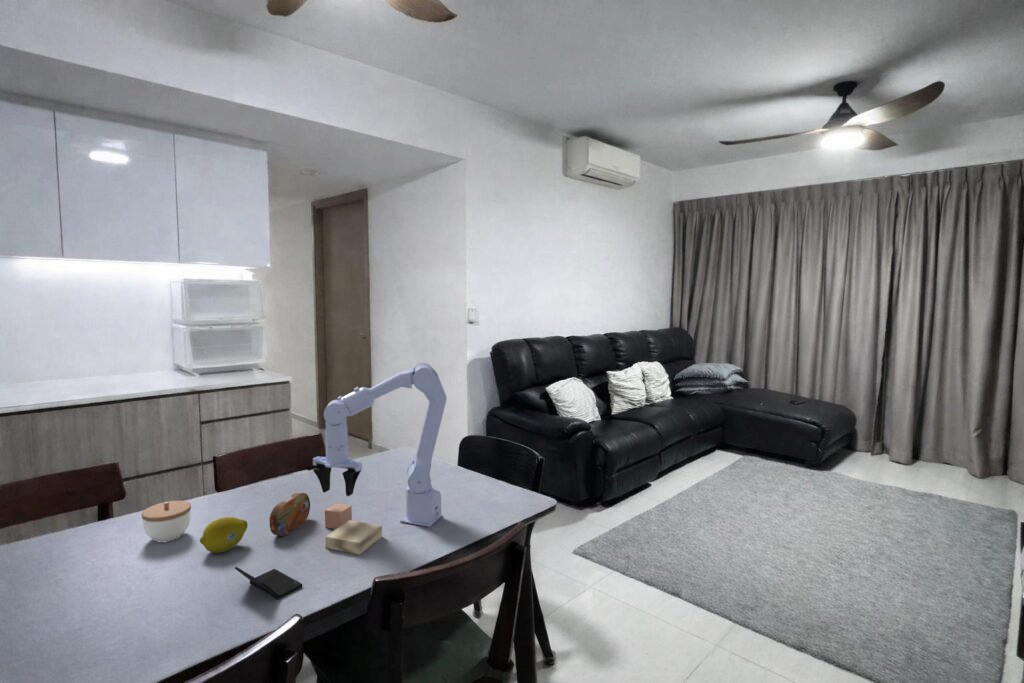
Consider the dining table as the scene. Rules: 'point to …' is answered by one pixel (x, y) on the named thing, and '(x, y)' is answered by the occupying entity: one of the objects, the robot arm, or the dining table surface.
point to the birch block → (353, 537)
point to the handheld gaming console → (273, 583)
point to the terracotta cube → (337, 515)
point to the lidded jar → (166, 520)
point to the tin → (289, 514)
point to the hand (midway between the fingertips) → (337, 492)
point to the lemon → (223, 534)
